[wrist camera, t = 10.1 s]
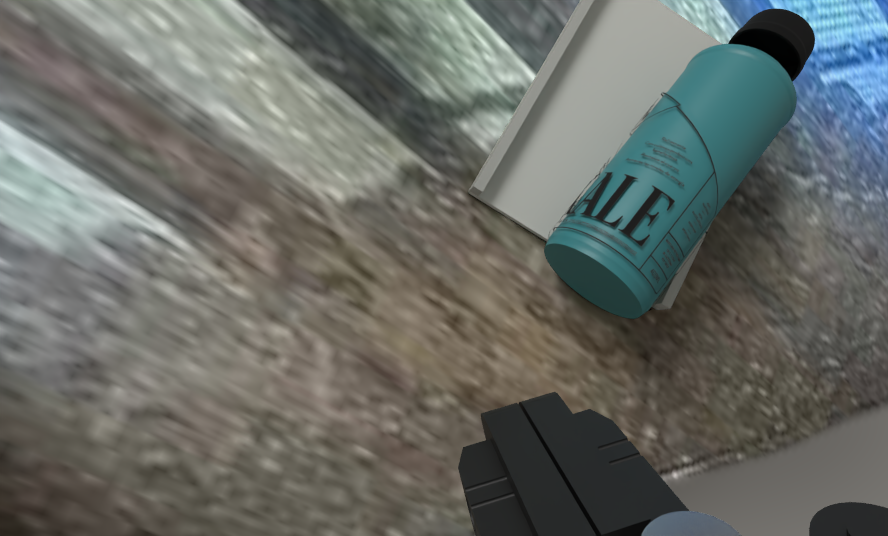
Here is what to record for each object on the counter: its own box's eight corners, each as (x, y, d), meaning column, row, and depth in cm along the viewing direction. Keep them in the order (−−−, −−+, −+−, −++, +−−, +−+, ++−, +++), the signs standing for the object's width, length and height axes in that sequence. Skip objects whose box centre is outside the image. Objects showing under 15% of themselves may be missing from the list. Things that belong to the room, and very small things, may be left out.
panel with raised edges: (656, 310, 33) (670, 308, 32) (467, 192, 32) (473, 186, 31) (767, 81, 37) (784, 71, 35) (600, -33, 35) (610, -48, 34)
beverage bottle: (608, 350, 32) (795, 98, 35) (650, 335, 25) (874, 29, 29) (514, 277, 33) (706, 40, 36) (532, 245, 26) (763, -40, 30)
